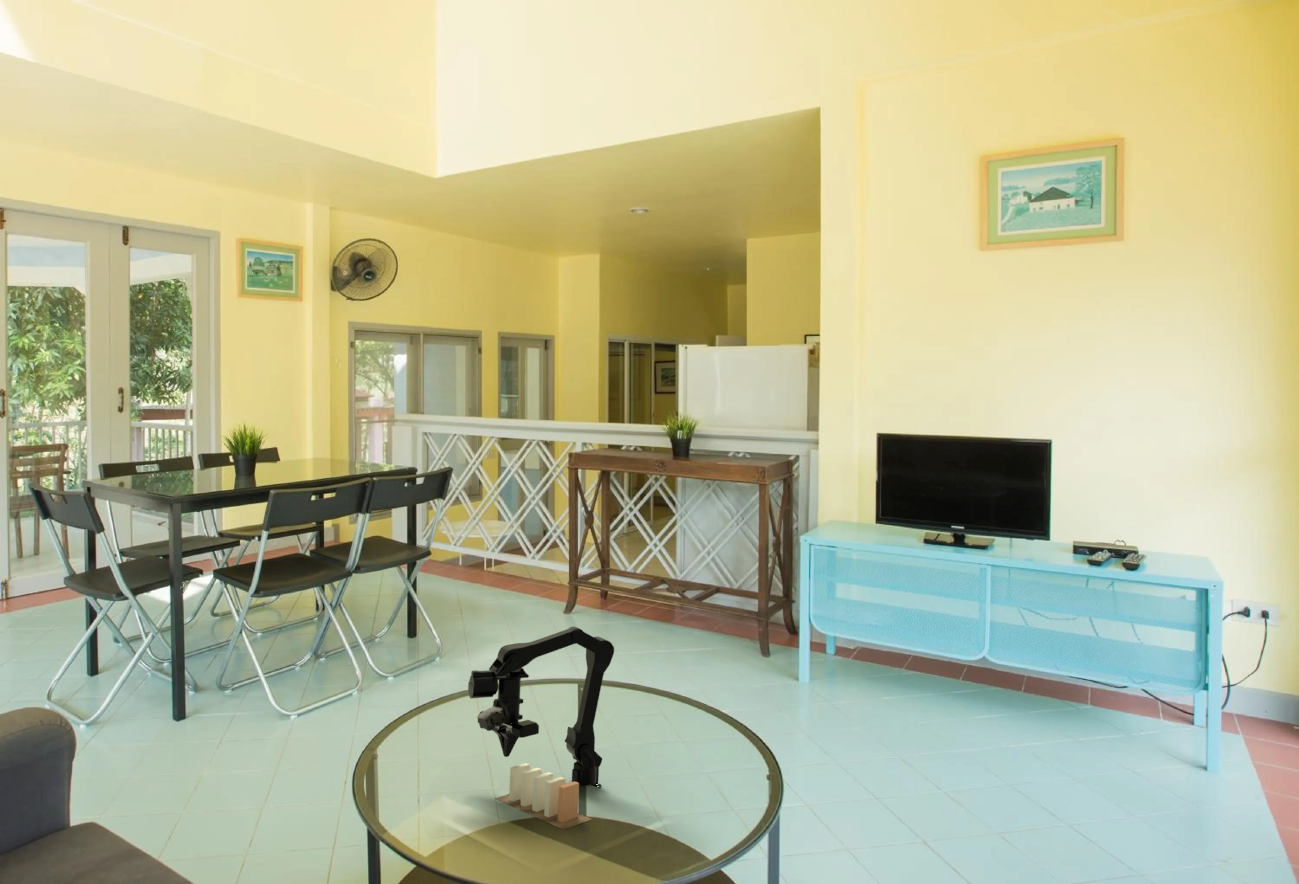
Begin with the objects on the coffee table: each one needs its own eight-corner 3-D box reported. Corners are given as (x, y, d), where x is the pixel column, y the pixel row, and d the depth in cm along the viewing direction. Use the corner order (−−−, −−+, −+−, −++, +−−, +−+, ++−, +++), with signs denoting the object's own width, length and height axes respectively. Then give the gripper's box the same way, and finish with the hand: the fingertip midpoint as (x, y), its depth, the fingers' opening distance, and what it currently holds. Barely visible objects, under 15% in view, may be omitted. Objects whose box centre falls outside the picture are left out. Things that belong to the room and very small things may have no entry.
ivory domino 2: (520, 804, 201) (522, 771, 201) (536, 799, 205) (537, 767, 205) (524, 806, 200) (526, 773, 200) (540, 801, 203) (541, 768, 204)
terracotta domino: (557, 820, 192) (559, 786, 193) (573, 814, 196) (574, 781, 196) (562, 822, 191) (563, 787, 192) (577, 816, 195) (579, 782, 195)
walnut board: (494, 802, 204) (494, 798, 205) (522, 793, 211) (522, 789, 211) (563, 833, 187) (563, 829, 187) (591, 823, 194) (591, 818, 194)
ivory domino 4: (544, 815, 195) (545, 781, 195) (559, 809, 199) (561, 776, 199) (548, 817, 194) (550, 783, 194) (564, 811, 198) (565, 778, 198)
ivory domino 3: (532, 809, 198) (533, 776, 198) (547, 804, 202) (549, 771, 202) (536, 811, 197) (537, 778, 197) (551, 806, 200) (553, 773, 201)
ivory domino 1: (508, 799, 204) (510, 767, 204) (524, 794, 208) (525, 762, 208) (512, 801, 203) (514, 768, 203) (528, 796, 207) (529, 764, 207)
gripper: (462, 693, 211) (459, 754, 210) (506, 707, 199) (503, 772, 198) (496, 686, 219) (494, 745, 218) (541, 700, 207) (538, 762, 206)
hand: (506, 756), depth 210 cm, fingers closed
